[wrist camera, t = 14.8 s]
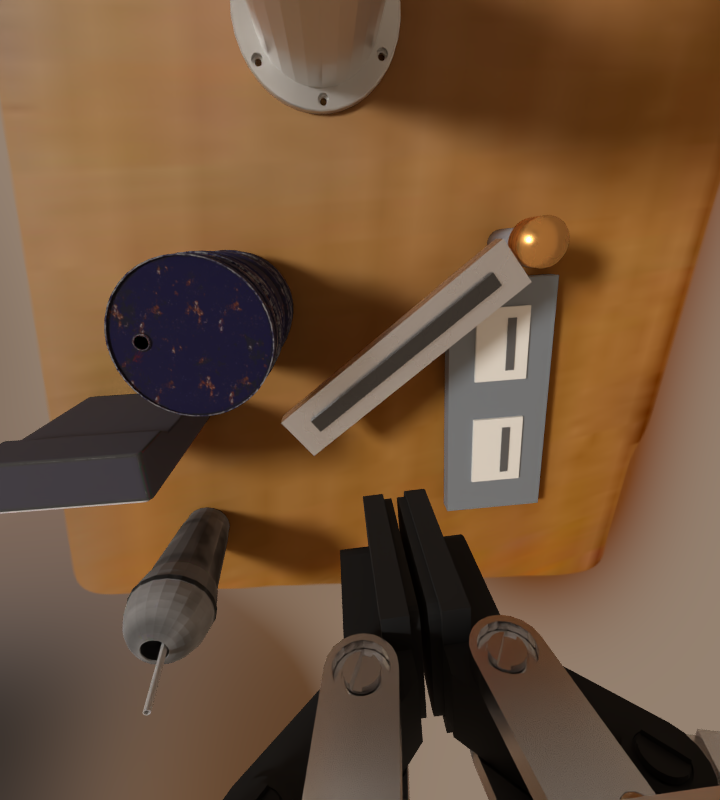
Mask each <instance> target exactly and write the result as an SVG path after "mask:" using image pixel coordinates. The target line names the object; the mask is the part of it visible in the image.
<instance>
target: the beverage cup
mask: <svg viewBox="0 0 720 800" xmlns="http://www.w3.org/2000/svg"><path fill="white" fill-rule="evenodd" d="M229 526H230V525H229V521H228V519H227V517H226V516H225V515H224V514H223V513H222V512H221V511H219V510H216V509H214V508H200V509H198V510H196V511H194V512H193V513H192V514H191V515H190V516H189V518H188V519H187V520H186V521H185V522H184V524H183V525H182V526H181V528H180V529H179V531H178V532H177V534H176V535H175V537H174V538H173V539H172V541H171V542H170V544H169V545H168V547H167V548H166V550H165V551H164V553H163V554H162V555H161V557H160V558H159V560H158V561H157V563H156V564H155V566H154V567H153V568H152V570H151V571H150V572H149V573H148V574H147V575H146V576H145V577H144V578H143V579H142V580H141V581H140V582H139V584H138V585H137V586H135V587H134V588H133V589H132V591H131V593H130V595H129V597H128V600H127V606H126V608H125V611H124V614H123V636H124V639H125V642H126V644H127V646H128V649H129V650H130V651H131V652H132V653H133V654H134V655H135V656H136V657H137V658H138V659H140V660H142V661H144V662H147V663H150V664H156V667H155V670H154V674H153V677H152V681H151V685H150V689H149V692H148V696H147V699H146V703H145V707H144V710H143V714H144V715H149V714H150V713H151V710H152V706H153V702H154V699H155V695H156V691H157V687H158V683H159V680H160V676H161V672H162V668H163V664H168V663H172V662H175V661H177V660H180V659H182V658H184V657H186V656H187V655H188V654H189V653H190V652H192V651H193V650H194V649H195V648H196V647H198V646H199V645H200V643H201V642H202V641H203V639H204V637H205V636H206V634H207V632H208V631H209V629H210V627H211V626H212V624H213V622H214V621H215V619H216V613H217V606H216V605H217V594H218V590H217V589H218V584H219V579H220V574H221V569H222V565H223V560H224V555H225V550H226V546H227V541H228V532H229Z"/></svg>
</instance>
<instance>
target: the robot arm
mask: <svg viewBox="0 0 720 800" xmlns="http://www.w3.org/2000/svg"><path fill="white" fill-rule="evenodd" d="M230 9H231V19H232V24H233V28H234V33H235V37H236V40H237V42H238V45H239V48H240V50H241V53H242V55H243V57H244V59H245V61H246V63H247V65H248V67H249V69H250V70H251V72H252V73H253V75H254V76H255V78H256V79H257V81H258V82H259V83H260V84H261V85H262V86H263V87H264V88H265V89H266V90H267V91H268V92H269V93H270V94H271V95H272V96H273V97H275V98H276V99H278V100H279V101H280V102H282V103H283V104H285V105H287V106H289V107H291V108H294V109H296V110H298V111H302V112H306V113H311V114H331V113H335V112H340V111H343V110H346V109H348V108H350V107H352V106H354V105H356V104H358V103H359V102H360V101H362V100H363V99H364V98H366V97H367V96H368V95H369V94H370V93H371V92H372V91H373V90H374V89H375V87H376V86H377V85H378V84H379V83H380V81H381V79H382V78H383V76H384V74H385V73H386V71H387V69H388V67H389V65H390V62H391V60H392V58H393V55H394V52H395V48H396V45H397V41H398V37H399V29H400V22H401V4H400V0H230ZM380 54H382V55H383V56H384V58H385V59H384V60H383V61H380V60H379V59H378V56H379V55H380ZM256 60H260V61H261V62H262V65H261V66H258V67H257V66H256V65H255V62H256ZM321 99H325V100H326V101H327V104H326V105H324V106H323V105H321V103H320V101H321ZM363 502H364V511H365V520H366V528H367V537H368V547H360V548H353V549H345V550H340V561H341V584H342V605H343V606H342V608H343V630H344V631H343V632H344V639H342V640H341V641H340V642H339V643H337V644H336V645H335V646H334V647H333V648H332V650H331V651H330V653H329V654H328V656H327V658H326V662H325V664H324V668H323V674H322V681H321V687H320V690H319V691H318V692H317V693H316V694H315V695H314V696H313V698H312V699H311V700H310V701H309V702H308V703H307V704H306V705H305V706H304V707H303V709H302V710H301V711H300V712H299V713H298V714H297V715H296V716H295V717H294V719H293V720H292V721H291V722H290V723H289V724H288V725H287V726H286V727H285V729H284V730H283V731H282V732H281V733H280V734H279V735H278V736H277V738H276V739H275V740H274V741H273V742H272V743H271V744H270V745H269V746H268V748H267V749H266V750H265V751H264V752H263V753H262V754H261V755H260V756H259V758H258V759H257V760H256V761H255V762H254V763H253V764H252V766H250V768H249V769H248V770H247V771H246V772H245V773H244V774H243V775H242V776H241V778H240V779H239V780H238V781H237V782H236V783H235V784H234V785H233V786H232V788H231V789H230V791H229V792H228V794H227V795H226V796H225V798H224V799H223V800H410V799H409V798H410V797H409V769H408V764H409V763H410V761H411V759H412V758H413V756H414V755H415V753H416V752H417V750H418V748H419V747H420V745H421V744H422V742H423V739H422V725H421V718H426V700H425V685H424V676H425V680H426V685H427V689H428V694H429V698H430V702H431V707H432V711H433V715H434V716H441V715H443V719H444V723H445V727H446V731H447V733H450V732H453V736H454V738H456V739H457V740H459V741H460V742H461V743H462V744H464V745H465V746H466V747H468V748H469V749H470V752H471V756H472V759H473V763H474V766H475V768H476V770H477V773H478V775H479V777H480V780H481V782H482V785H483V787H484V790H485V792H486V794H487V797H488V799H489V800H720V731H710V730H700V729H697V732H696V735H687V734H685V733H684V732H682V731H681V730H679V729H678V728H676V727H675V726H673V725H672V724H670V723H669V722H667V721H665V720H663V719H661V718H659V717H657V716H655V715H654V714H652V713H650V712H648V711H646V710H644V709H642V708H640V707H639V706H637V705H635V704H633V703H631V702H629V701H627V700H625V699H624V698H622V697H620V696H618V695H616V694H614V693H612V692H611V691H609V690H607V689H605V688H603V687H601V686H599V685H597V684H595V683H594V682H592V681H590V680H588V679H586V678H584V677H582V676H580V675H579V674H577V673H575V672H573V671H571V670H569V669H567V668H565V667H564V666H562V664H561V663H560V662H559V660H558V659H557V657H556V656H555V655H554V653H553V652H552V651H551V649H550V648H549V647H548V645H547V644H546V642H545V641H544V640H543V638H542V637H541V636H540V634H539V633H538V632H537V631H536V630H535V629H534V628H533V627H532V626H530V625H529V624H527V623H525V622H524V621H522V620H520V619H517V618H514V617H511V616H505V615H500V614H499V611H498V609H497V607H496V605H495V603H494V601H493V598H492V596H491V594H490V592H489V590H488V588H487V586H486V583H485V581H484V579H483V577H482V575H481V572H480V570H479V568H478V566H477V564H476V562H475V559H474V557H473V555H472V553H471V551H470V549H469V546H468V544H467V542H466V540H465V538H464V536H463V535H461V534H460V535H452V536H445V537H443V535H442V532H441V530H440V527H439V525H438V522H437V519H436V517H435V514H434V512H433V509H432V507H431V504H430V502H429V499H428V496H427V494H426V491H425V489H418V490H410V491H404V497H398V498H397V506H398V518H399V528H398V523H397V519H396V515H395V511H394V507H393V503H392V500H391V498H390V499H384V497H383V494H379V495H371V496H363ZM399 531H400V532H399Z"/></svg>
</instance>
